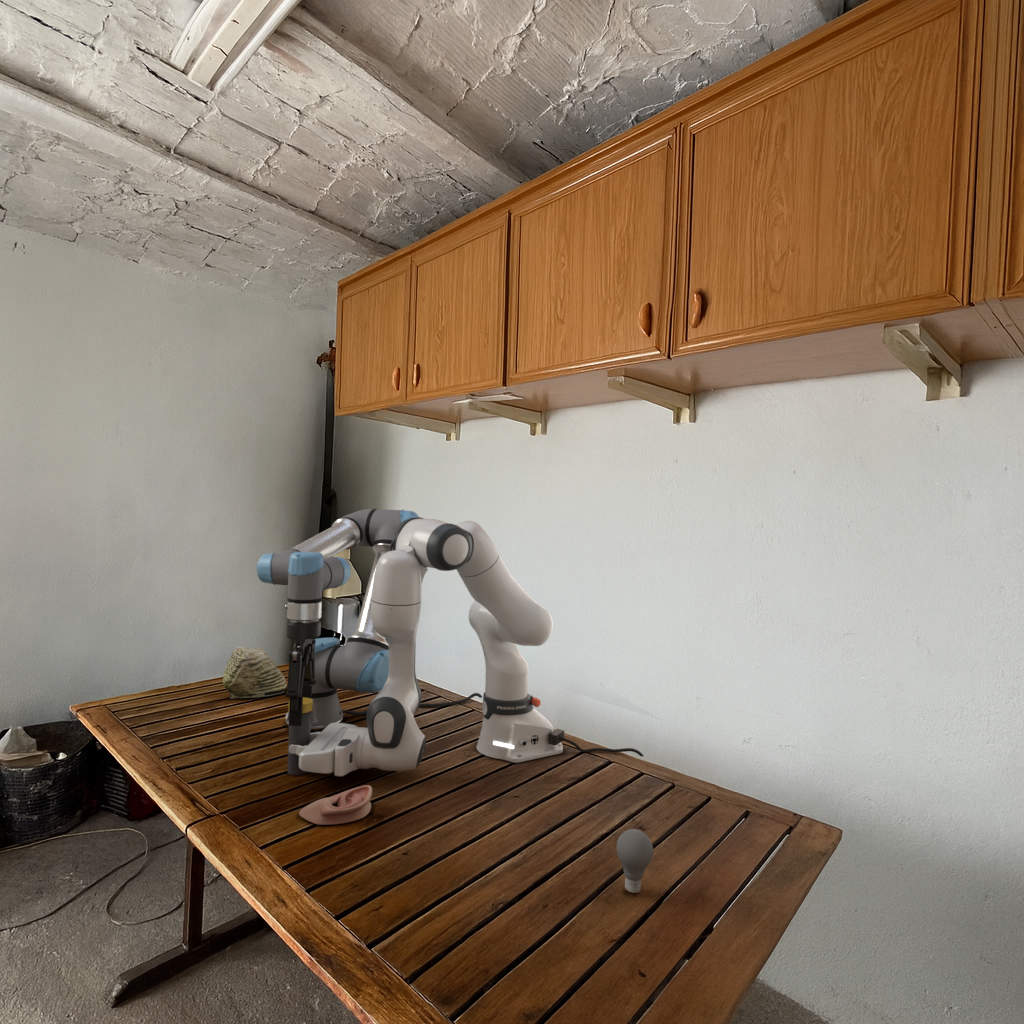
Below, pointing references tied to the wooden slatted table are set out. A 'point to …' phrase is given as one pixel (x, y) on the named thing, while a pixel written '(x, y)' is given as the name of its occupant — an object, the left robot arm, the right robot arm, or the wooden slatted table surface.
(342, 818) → the anatomical model
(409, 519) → the right robot arm
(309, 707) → the lid
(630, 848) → the light bulb
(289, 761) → the dark grey bottle
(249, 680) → the fossil
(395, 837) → the wooden slatted table surface
